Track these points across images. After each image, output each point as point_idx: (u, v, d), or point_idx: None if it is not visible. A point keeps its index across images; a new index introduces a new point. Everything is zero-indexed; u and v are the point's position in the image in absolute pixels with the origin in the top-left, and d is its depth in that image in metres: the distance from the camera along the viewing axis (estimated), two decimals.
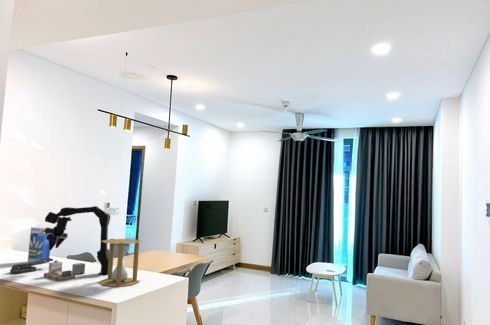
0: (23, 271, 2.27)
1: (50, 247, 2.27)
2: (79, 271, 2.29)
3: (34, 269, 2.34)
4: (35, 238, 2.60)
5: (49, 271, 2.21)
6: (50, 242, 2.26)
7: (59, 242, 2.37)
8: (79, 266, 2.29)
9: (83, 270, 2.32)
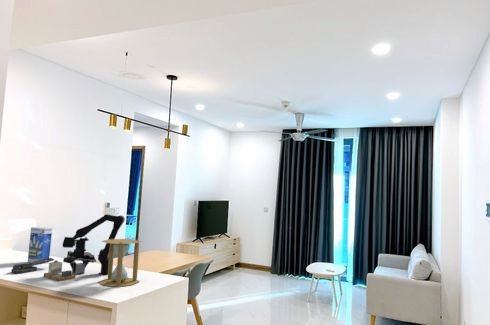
0: (24, 271, 2.28)
1: (72, 270, 2.28)
2: (79, 271, 2.29)
3: (35, 269, 2.34)
4: (35, 238, 2.60)
5: (49, 271, 2.21)
6: (71, 264, 2.28)
7: None
8: (79, 266, 2.29)
9: (83, 270, 2.32)
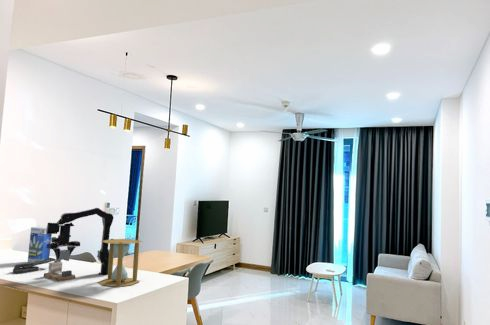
0: (25, 271, 2.28)
1: (56, 256, 2.17)
2: (63, 258, 2.18)
3: (36, 269, 2.35)
4: (35, 238, 2.60)
5: (49, 271, 2.21)
6: (55, 251, 2.17)
7: None
8: (63, 252, 2.18)
9: (68, 257, 2.20)
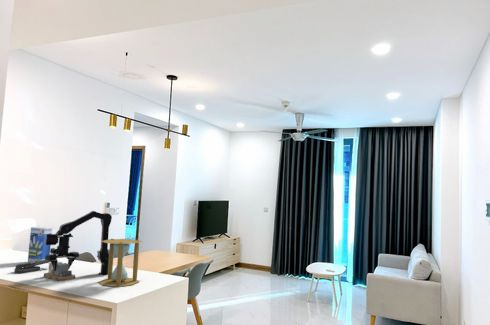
0: (26, 271, 2.29)
1: (53, 268, 2.15)
2: None
3: (38, 269, 2.35)
4: (35, 238, 2.60)
5: (49, 271, 2.21)
6: (52, 262, 2.15)
7: (69, 262, 2.22)
8: (62, 266, 2.17)
9: None
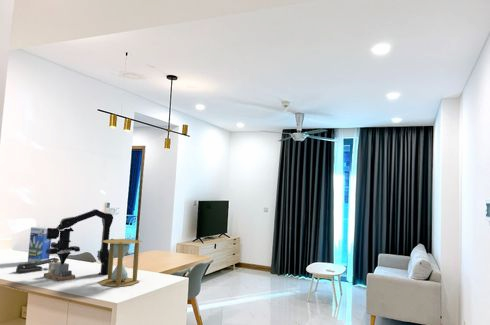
0: (28, 270, 2.29)
1: (61, 261, 2.19)
2: None
3: (39, 269, 2.35)
4: (35, 238, 2.60)
5: (49, 271, 2.21)
6: (59, 256, 2.19)
7: None
8: (62, 266, 2.17)
9: None
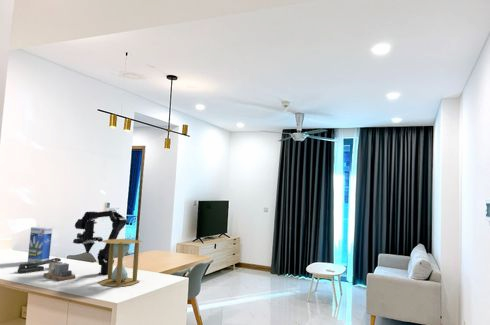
0: (29, 270, 2.29)
1: (86, 250, 2.40)
2: None
3: (41, 269, 2.35)
4: (35, 238, 2.60)
5: (49, 271, 2.21)
6: (85, 245, 2.40)
7: None
8: (62, 266, 2.17)
9: None
